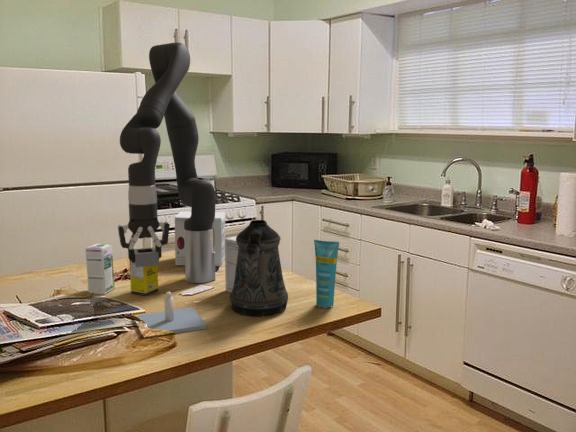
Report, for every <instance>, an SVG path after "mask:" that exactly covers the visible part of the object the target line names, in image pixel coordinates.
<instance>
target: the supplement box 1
mask: <svg viewBox="0 0 576 432" xmlns="http://www.w3.org/2000/svg"><path fill="white" fill-rule="evenodd" d="M128 260H129V259H128ZM128 262H129V275H130V277H129V278H130V294H133V295H139V296H140V295H141V296H145V297H147V296H149V295H152V294H154V293H155V292H158V291H159V275H158V265H150V266H140V267H136V266H135V265H134V263H132V262H131V261H130V260H129V261H128Z"/></svg>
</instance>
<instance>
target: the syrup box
mask: <svg viewBox="0 0 576 432" xmlns="http://www.w3.org/2000/svg"><path fill="white" fill-rule="evenodd" d="M84 250H85V261H86V275H87V277H86V278H87V287H88V288H87V289H88V293H89V292H90V293H89V294H92V293H94V294H93V295H107V293H109V292H112V291H113V290H115V289H116V288H115V287H116V286H115V275H114V273H115V272H114V259H113V258H114V257H113V245H112V244H110V243H94V244H93V245H90V246H88V247H87V246H86V247H85V249H84Z"/></svg>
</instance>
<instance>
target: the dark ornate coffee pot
mask: <svg viewBox="0 0 576 432" xmlns="http://www.w3.org/2000/svg"><path fill="white" fill-rule="evenodd" d="M236 236H237V237H236V242H237V244H238V246H239V249H238V256H237V264H236V271H235V280H234V286H233V290H232V292H230V294H229V301H230V305H231V310H232V311H233V312H234V313H235V314H238V315H240V316H247V317H252V318H253V317H254V318H255V317H257V318H263V317H262V316H265V317H272V315H273V316H276V315H279V314H278V313H280V314H281V312H282V311H283V312H285V311H286V309H287V305H288V300H289V293H288V291H287V289H286V286H285V281H284V276H283V270H282V264H281V258H280V251H279V246H280V243H281V236H280V235H279V233H278V232H277V231H275V230H274V229H273V228H272V227H271V226H270V225H269V224H268V222H267V221H266V220H263V219H254V220H250V222H249V225H247V226H246V227H245V228H244V229H242V230H241V231H240V232H239V233H238V234H237V235H236ZM284 310H285V311H284ZM283 312H282V313H283ZM275 314H276V315H275Z"/></svg>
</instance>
